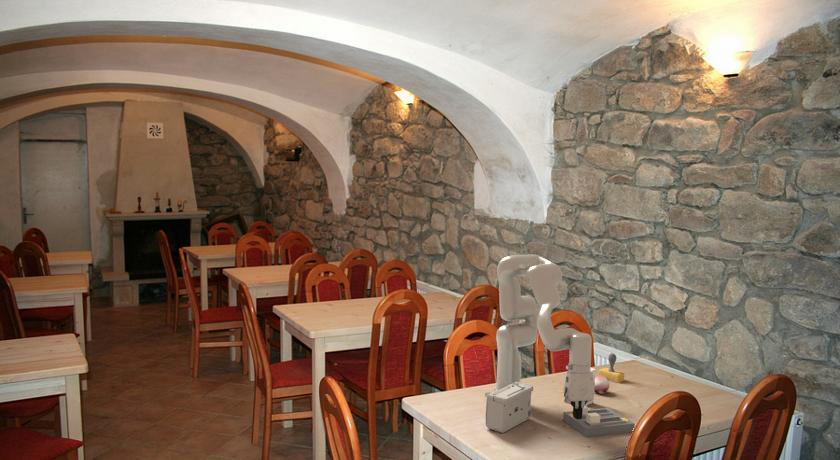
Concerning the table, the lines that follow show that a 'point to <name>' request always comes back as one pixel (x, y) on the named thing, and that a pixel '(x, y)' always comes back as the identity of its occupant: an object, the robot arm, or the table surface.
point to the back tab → (585, 410)
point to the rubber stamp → (612, 371)
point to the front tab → (592, 418)
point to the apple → (601, 384)
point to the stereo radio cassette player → (508, 406)
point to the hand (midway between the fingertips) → (577, 418)
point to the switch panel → (608, 423)
